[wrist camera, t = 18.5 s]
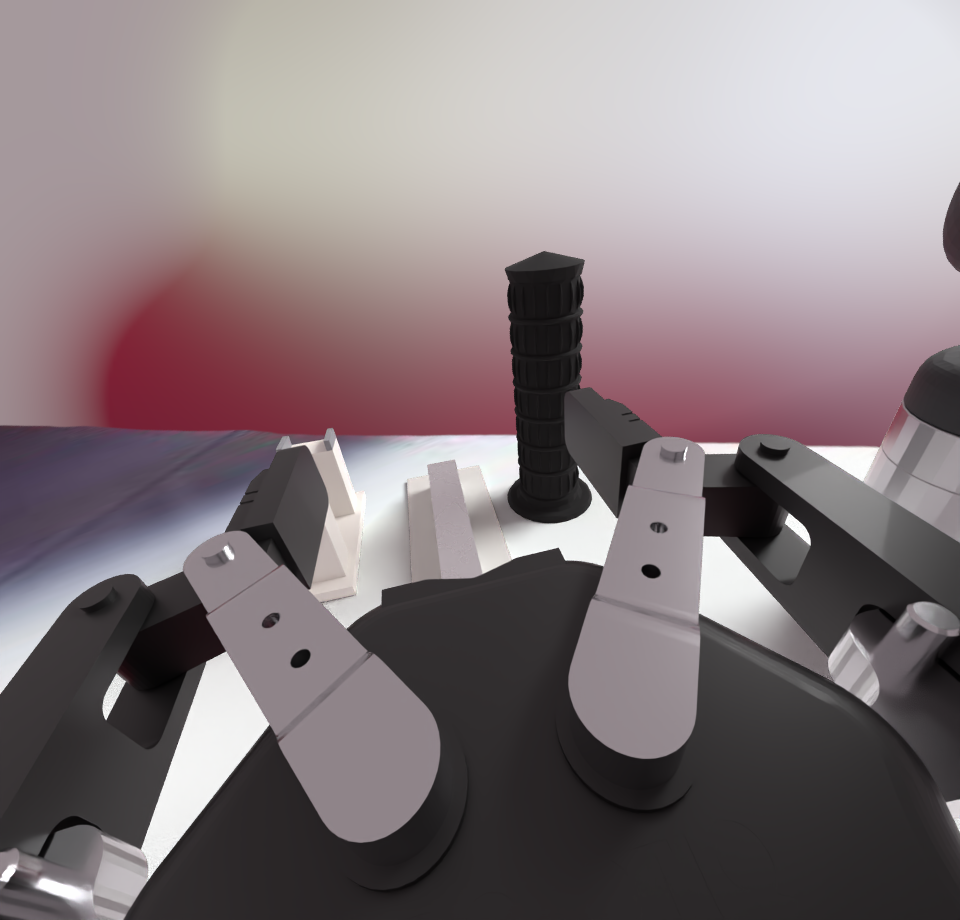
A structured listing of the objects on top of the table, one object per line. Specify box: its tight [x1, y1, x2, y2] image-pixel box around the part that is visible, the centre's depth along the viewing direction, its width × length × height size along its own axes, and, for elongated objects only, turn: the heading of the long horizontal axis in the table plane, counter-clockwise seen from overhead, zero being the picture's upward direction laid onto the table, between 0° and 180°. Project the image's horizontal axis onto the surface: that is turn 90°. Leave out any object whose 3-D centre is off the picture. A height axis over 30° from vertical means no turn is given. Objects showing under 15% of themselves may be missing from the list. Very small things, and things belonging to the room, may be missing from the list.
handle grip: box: [505, 251, 592, 523], centre depth 41 cm, size 10×26×10 cm
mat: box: [407, 465, 512, 583], centre depth 43 cm, size 10×28×1 cm, turn 10°
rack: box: [276, 428, 366, 602], centre depth 42 cm, size 7×16×11 cm, turn 10°
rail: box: [427, 460, 483, 579], centre depth 41 cm, size 24×4×4 cm, turn 10°
